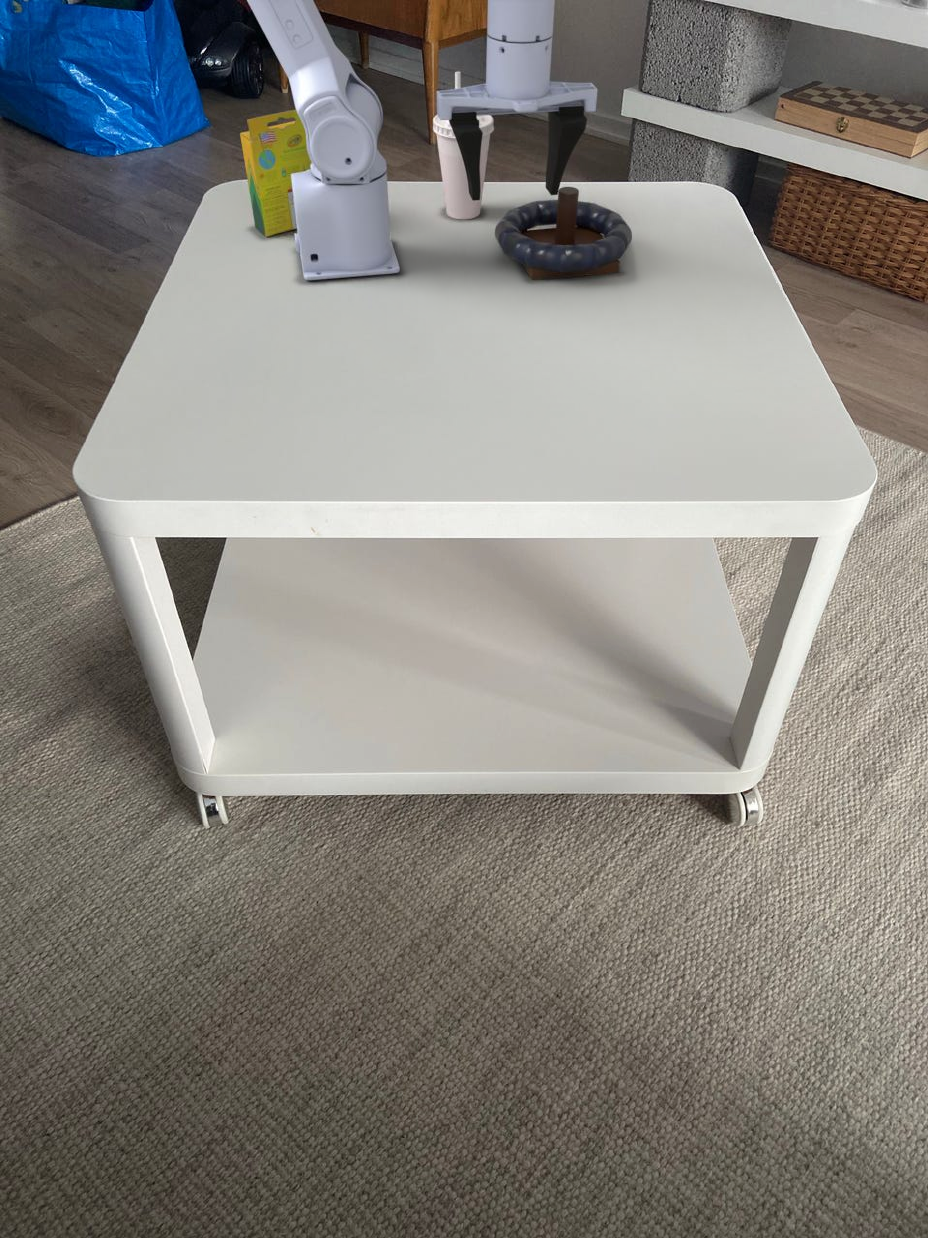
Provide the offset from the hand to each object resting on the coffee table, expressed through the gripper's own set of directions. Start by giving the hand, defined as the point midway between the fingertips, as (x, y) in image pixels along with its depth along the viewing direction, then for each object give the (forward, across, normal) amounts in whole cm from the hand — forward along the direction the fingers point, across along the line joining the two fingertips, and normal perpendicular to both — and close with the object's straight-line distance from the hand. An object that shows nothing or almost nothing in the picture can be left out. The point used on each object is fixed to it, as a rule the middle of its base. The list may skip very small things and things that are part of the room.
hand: (513, 193), depth 94 cm
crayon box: (+7, -21, +13) cm, 26 cm away
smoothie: (+7, -2, +13) cm, 15 cm away
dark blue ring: (+4, +5, 0) cm, 7 cm away
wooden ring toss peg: (+7, +6, 0) cm, 9 cm away
